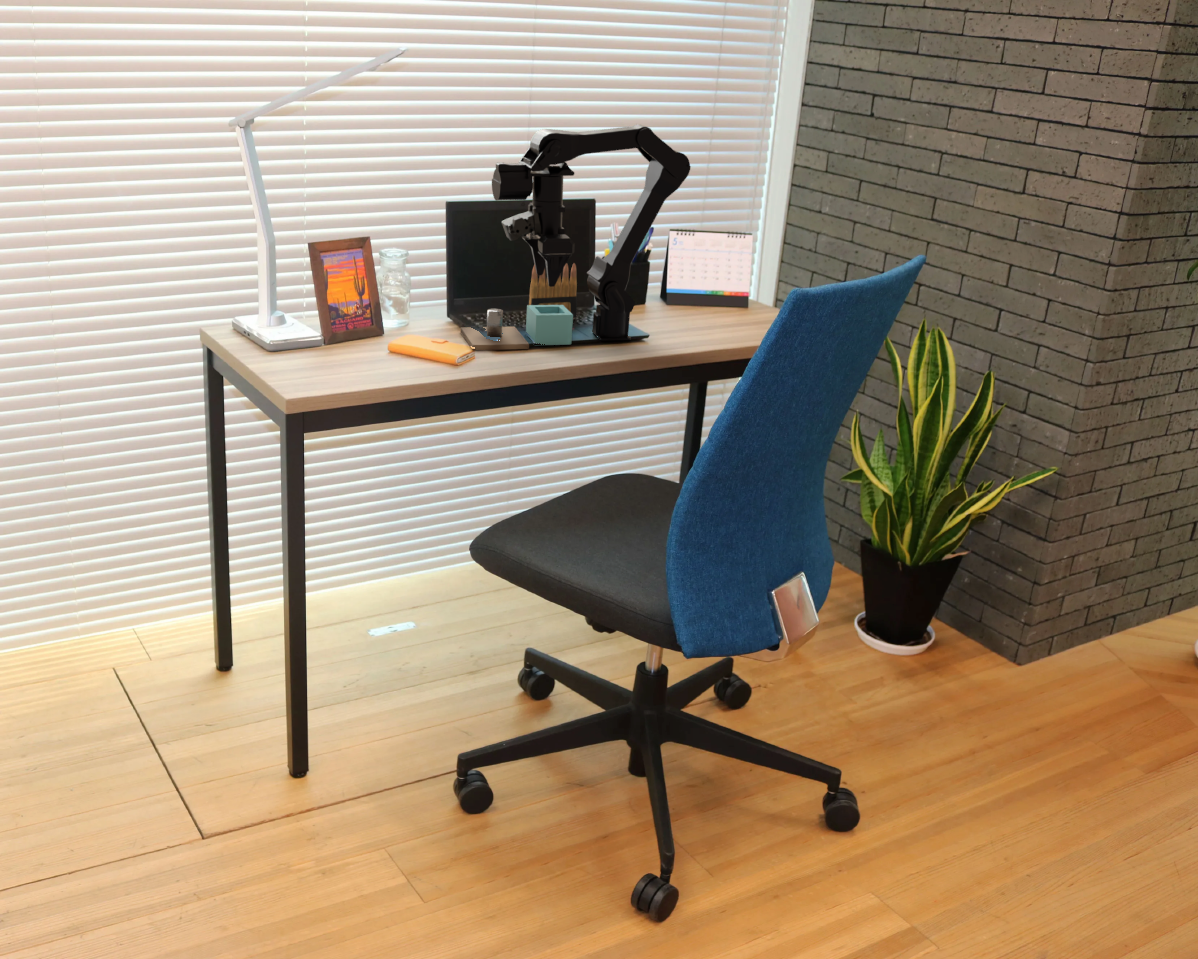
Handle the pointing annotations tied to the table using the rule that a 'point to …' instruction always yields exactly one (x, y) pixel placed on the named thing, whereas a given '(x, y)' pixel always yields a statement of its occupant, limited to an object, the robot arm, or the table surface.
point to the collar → (549, 324)
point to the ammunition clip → (555, 290)
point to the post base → (495, 345)
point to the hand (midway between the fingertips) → (545, 280)
